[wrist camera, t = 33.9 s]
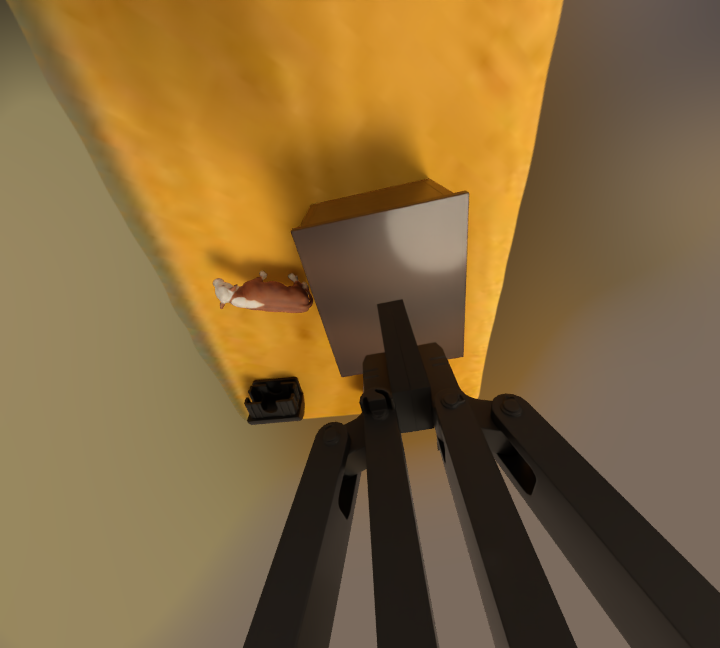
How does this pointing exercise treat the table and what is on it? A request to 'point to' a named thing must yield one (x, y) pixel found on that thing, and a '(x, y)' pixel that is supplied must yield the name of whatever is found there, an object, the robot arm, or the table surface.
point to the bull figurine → (265, 295)
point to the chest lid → (389, 274)
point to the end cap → (275, 401)
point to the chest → (374, 201)
